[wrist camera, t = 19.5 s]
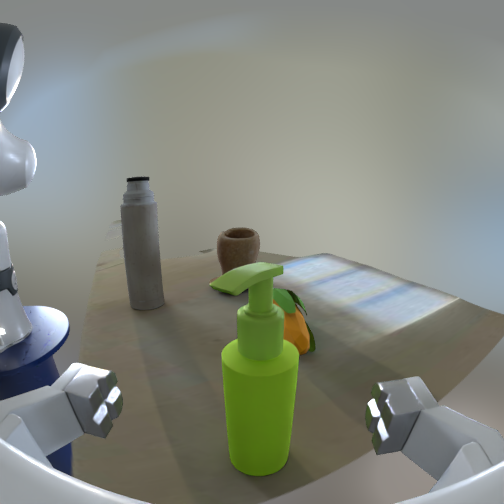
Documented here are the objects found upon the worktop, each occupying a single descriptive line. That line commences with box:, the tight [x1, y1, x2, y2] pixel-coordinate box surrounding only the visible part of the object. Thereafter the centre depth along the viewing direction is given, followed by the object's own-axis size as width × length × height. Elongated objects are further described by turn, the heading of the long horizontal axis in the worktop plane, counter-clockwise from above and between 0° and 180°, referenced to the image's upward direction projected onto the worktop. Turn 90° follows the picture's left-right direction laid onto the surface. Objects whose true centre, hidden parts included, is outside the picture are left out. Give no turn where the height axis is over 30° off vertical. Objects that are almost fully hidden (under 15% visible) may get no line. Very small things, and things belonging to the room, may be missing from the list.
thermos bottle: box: [121, 177, 164, 310], centre depth 60 cm, size 8×8×28 cm
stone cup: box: [209, 228, 260, 284], centre depth 73 cm, size 15×12×15 cm
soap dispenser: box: [210, 262, 299, 476], centre depth 22 cm, size 6×7×20 cm
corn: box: [273, 288, 315, 355], centre depth 48 cm, size 7×8×20 cm
